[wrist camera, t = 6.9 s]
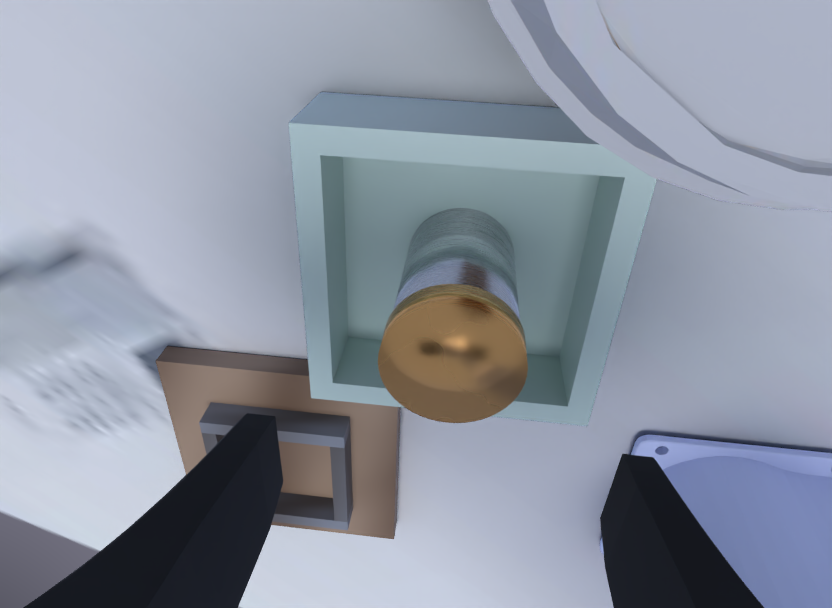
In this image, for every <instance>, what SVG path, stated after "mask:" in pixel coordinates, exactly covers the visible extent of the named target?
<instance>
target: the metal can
mask: <svg viewBox="0 0 832 608" xmlns="http://www.w3.org/2000/svg"><path fill="white" fill-rule="evenodd" d="M378 369H379V373H380V377H381V379H382V382H383V384H384V386H385V387H386V389H387V390H388V392H389V393H390V394H391V395H392V397H393V398H394V399H395V400H396V401H397V402H399V403H400V404H401V405H402V406H404V407H405V408H407V409H408V410H410V411H412V412H413V413H416V414H418V415H420V416H422V417H425V418H428V419H432V420H436V421H441V422H449V423H465V422H472V421H477V420H481V419H485V418H487V417H490V416H492V415H494V414H496V413H498V412H500V411H502V410H503V409H505V408H506V407H507V406H509V405H510V404H511V403H512V402H513V401H514V400H515V399H516V398H517V396H518V395H519V393H520V392H521V390H522V388H523V386H524V384H525V381H526V378H527V372H528V362H527V351H526V341H525V334H524V330H523V327H522V324H521V322H520V316H519V304H518V293H517V281H516V269H515V257H514V248H513V243H512V241H511V238H510V236H509V234H508V232H507V231H506V229H505V228H504V227H503V226H502V225H501V224H500V223H499V222H498V221H497V220H496V219H494V218H493V217H491V216H490V215H488V214H486V213H483V212H481V211H478V210H474V209H469V208H453V209H447V210H443V211H441V212H438V213H436V214H434V215H432V216H430V217H429V218H427V219H426V220H425V221H424V222H423V223H422V224H421V225H420V226H419V227H418V228H417V229H416V231H415V233H414V234H413V236H412V239H411V242H410V245H409V249H408V253H407V257H406V261H405V265H404V269H403V273H402V277H401V281H400V285H399V289H398V293H397V297H396V301H395V305H394V309H393V311H392V313H391V315H390V316H389V318H388V321H387V323H386V326H385V330H384V334H383V338H382V342H381V345H380V349H379V353H378Z"/></svg>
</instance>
